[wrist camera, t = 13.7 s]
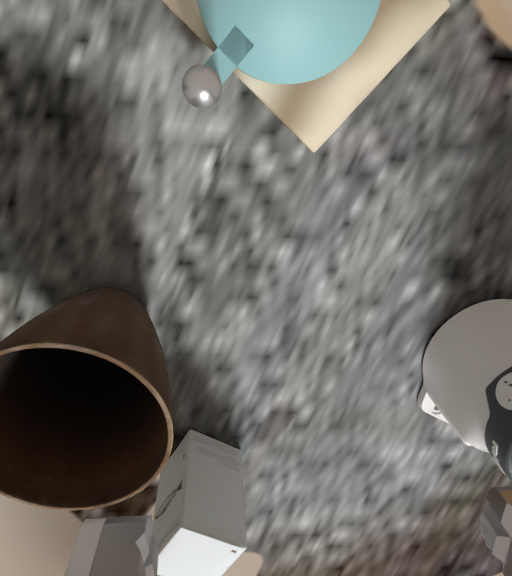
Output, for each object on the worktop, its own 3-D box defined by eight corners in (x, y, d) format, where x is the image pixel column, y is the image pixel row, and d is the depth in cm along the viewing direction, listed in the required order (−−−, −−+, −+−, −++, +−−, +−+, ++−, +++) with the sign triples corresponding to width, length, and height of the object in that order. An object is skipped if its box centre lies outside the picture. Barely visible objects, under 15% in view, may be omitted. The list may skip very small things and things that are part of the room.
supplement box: (189, 426, 51) (181, 525, 40) (242, 449, 53) (250, 549, 42) (158, 467, 53) (143, 572, 42) (211, 488, 56) (210, 592, 44)
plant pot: (215, 335, 46) (215, 450, 32) (105, 403, 49) (59, 539, 34) (120, 221, 40) (66, 300, 26) (0, 306, 43) (-109, 421, 28)
